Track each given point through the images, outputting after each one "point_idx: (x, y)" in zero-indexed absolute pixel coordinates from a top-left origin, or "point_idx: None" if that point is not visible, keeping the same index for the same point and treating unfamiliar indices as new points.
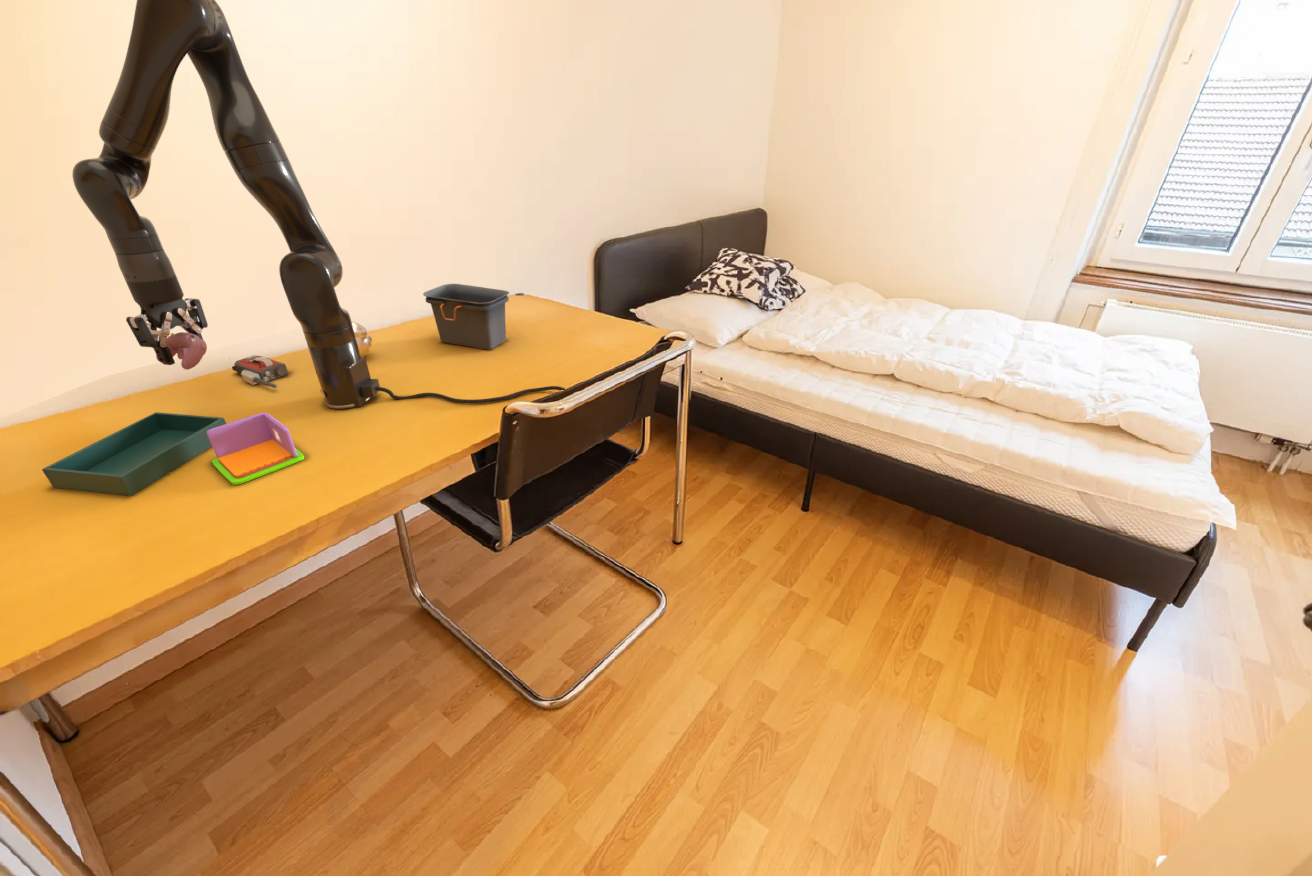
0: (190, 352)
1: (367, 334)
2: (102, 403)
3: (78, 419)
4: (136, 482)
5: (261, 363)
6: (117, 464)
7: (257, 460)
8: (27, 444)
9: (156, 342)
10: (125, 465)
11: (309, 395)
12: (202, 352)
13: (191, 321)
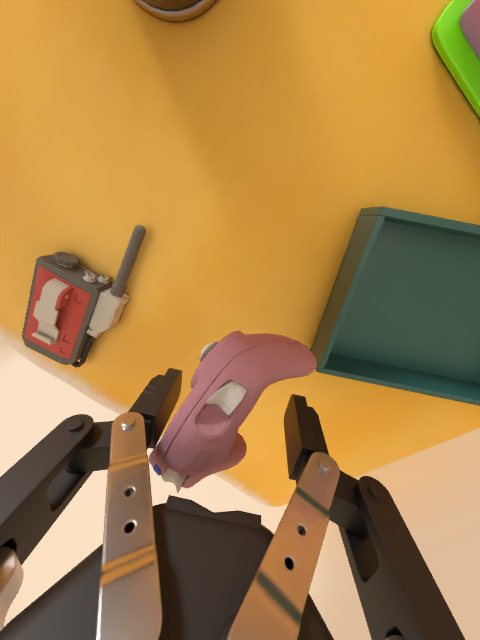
0: (287, 365)
1: None
2: None
3: (263, 464)
4: None
5: (64, 300)
6: (447, 346)
7: None
8: None
9: (343, 492)
10: (457, 331)
11: (154, 121)
12: (253, 336)
13: (127, 481)
